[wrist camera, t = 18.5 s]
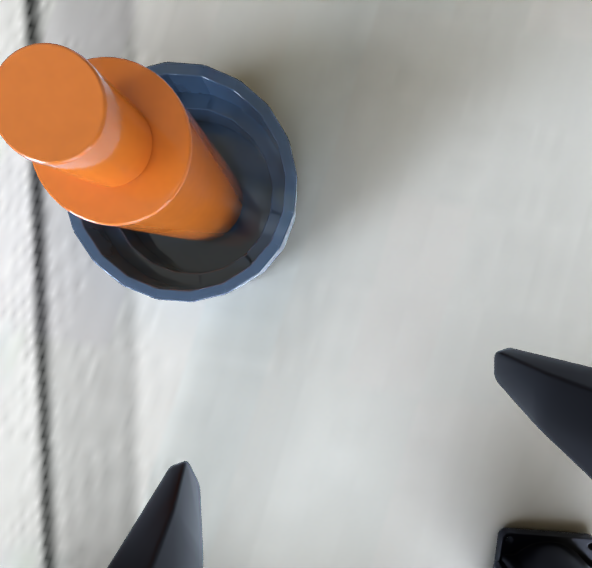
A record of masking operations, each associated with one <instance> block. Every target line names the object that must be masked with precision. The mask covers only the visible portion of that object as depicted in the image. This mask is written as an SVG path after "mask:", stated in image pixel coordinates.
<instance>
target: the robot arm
mask: <svg viewBox="0 0 592 568" xmlns="http://www.w3.org/2000/svg"><path fill="white" fill-rule="evenodd" d="M494 375H495V378H496V380H497V382H498V383H499V385H500V386H501V387H502V388H503V389H504V390H505V391H506V392H507V394H508V395H509V396H510V397H511V398H512V399H513V400H514V401H515V403H516V404H517V405H518V406H519V407H520V408H521V409H522V410H523V412H524V413H525V414H526V415H527V416H528V417H529V418H530V419H531V421H532V422H533V423H534V424H535V425H536V426H537V427H538V428H539V429H540V430H541V431H542V432H543V433H544V434H545V435H546V436H547V437H548V438H549V439H550V440H551V441H552V442H553V443H554V444H555V445H557V446H558V447H559V448H560V449H561V450H562V451H563V452H564V453H565V454H566V455H567V456H568V457H569V458H570V459H571V460H572V461H573V462H574V463H575V464H577V465H578V466H579V467H580V468H581V469H582V470H583V471H584V472H585V473H586V474H587V475H588V476H589V477H590V478H591V479H592V367H588V366H584V365H580V364H575V363H571V362H567V361H563V360H559V359H555V358H550V357H546V356H542V355H538V354H534V353H530V352H526V351H521V350H517V349H513V348H506V349H503V350H501V351H498V352H496V354H495V358H494ZM507 537H508V538H507ZM108 568H203V541H202V519H201V497H200V486H199V483H198V480H197V478H196V476H195V474H194V472H193V470H192V468H191V466H190V464H189V463H188V462H187V461H184V462H181V463H178V464H175V465H173V466H171V467H170V468H169V469H168V471H167V473H166V474H165V476H164V477H163V479H162V481H161V482H160V484H159V486H158V487H157V489H156V490H155V492H154V494H153V495H152V497H151V498H150V500H149V502H148V503H147V505H146V506H145V508H144V510H143V511H142V513H141V515H140V516H139V518H138V519H137V521H136V523H135V524H134V526H133V527H132V529H131V531H130V532H129V534H128V536H127V537H126V539H125V540H124V542H123V544H122V545H121V547H120V548H119V550H118V552H117V553H116V555H115V556H114V558H113V560H112V561H111V563H110V565H109V566H108ZM493 568H592V536H591V535H589V534H580V533H567V532H554V531H541V530H527V529H514V528H503V529H501V530H500V531H499V533H498V539H497V547H496V554H495V561H494V566H493Z"/></svg>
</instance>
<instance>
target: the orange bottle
mask: <svg viewBox="0 0 592 568" xmlns="http://www.w3.org/2000/svg"><path fill="white" fill-rule="evenodd" d="M0 135H1V136H2V137H3V139H4V140H5V141H6V143H7V144H8V145H9V146H10V147H11V148H12V149H13V150H15V151H16V152H17V153H18V154H20V155H21V156H23V157H25V158H26V159H28V160H31V161H32V162H33V166H34V168H35V171H36V173H37V175H38V178H39V179H40V181H41V183H42V184H43V186H44V188H45V189H46V190H47V191H48V193H49V194H50V195H51V196H52V197H53V198H54V199H55V200H56V201H57V202H58V203H59V204H60V205H61V206H62V207H63V208H65V209H66V210H67V211H69V212H70V213H72V214H74V215H75V216H77V217H79V218H81V219H84V220H86V221H89V222H92V223H96V224H101V225H106V226H112V227H118V228H124V229H129V230H135V231H141V232H146V233H152V234H158V235H164V236H169V237H175V238H181V239H187V240H192V241H210V240H214V239H217V238H219V237H221V236H223V235H224V234H226V233H227V232H228V231H229V230H230V229H231V228H232V227H233V226H234V225H235V223H236V222H237V220H238V218H239V216H240V213H241V210H242V204H243V195H242V189H241V185H240V183H239V180H238V178H237V177H236V175H235V174H234V172H233V171H232V169H231V168H230V167H229V165H228V164H227V163H226V161H225V160H224V159H223V157H222V156H221V154H220V153H219V152H218V150H217V149H216V148H215V146H214V145H213V144H212V142H211V141H210V139H209V138H208V137H207V135H206V134H205V133H204V131H203V130H202V129H201V127H200V126H199V124H198V123H197V122H196V120H195V119H194V118H193V116H192V115H191V114H190V112H189V111H188V109H187V108H186V107H185V105H184V104H183V103H182V101H181V100H180V99H179V97H178V96H177V95H176V93H175V92H174V90H173V89H172V88H171V87H170V86H169V85H168V84H167V83H166V81H165V80H163V79H162V78H161V77H160V76H159V75H157V74H156V73H155V72H153V71H151V70H150V69H148V68H147V67H145V66H143V65H140V64H138V63H136V62H133V61H129V60H126V59H122V58H116V57H98V58H91V59H85V58H84V57H83V56H82V55H80V54H79V53H77V52H75V51H74V50H72V49H69V48H67V47H64V46H61V45H58V44H52V43H37V44H32V45H28V46H25V47H23V48H20V49H19V50H17V51H15V52H14V53H12V54H11V55H10V56H9V57H8V58H7V59H6V60H5V61H4V62H3V63H2V64H1V66H0Z"/></svg>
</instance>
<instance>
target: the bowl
mask: <svg viewBox="0 0 592 568" xmlns="http://www.w3.org/2000/svg"><path fill="white" fill-rule="evenodd" d="M147 68H148V69H150V70H151V71H153V72H155V73H156V74H157V75H159V76H160V77H161V78H162V79H163V80H165V81H166V83H167V84H168V85H169V86H170V87H171V88H172V89H173V90H174V92H175V93H176V95H177V96H178V97H179V99H180V100H181V101H182V103H183V104H184V105H185V107H186V108H187V109H188V111H189V112H190V114H191V115H192V116H193V118H194V119H195V120H196V122H197V123H198V124H199V126H200V127H201V129H202V130H203V131H204V133H205V134H206V135H207V137H208V138H209V139H210V141H211V142H212V144H213V145H214V146H215V148H216V149H217V150H218V152H219V153H220V154H221V156H222V157H223V159H224V160H225V161H226V163H227V164H228V165H229V167H230V168H231V169H232V171H233V172H234V174H235V175H236V177H237V178H238V180H239V183H240V185H241V189H242V195H243V204H242V210H241V213H240V216H239V218H238V220H237V222H236V223H235V225H234V226H233V227H232V228H231V229H230V230H229V231H228V232H227V233H226V234H224V235H223V236H221V237H219V238H217V239H214V240H210V241H192V240H187V239H181V238H175V237H169V236H164V235H158V234H152V233H146V232H141V231H135V230H129V229H124V228H118V227H112V226H106V225H101V224H96V223H92V222H89V221H86V220H84V219H81V218H79V217H77V216H75V215H74V214H72V213H70V212H69V211H68V214H69V217H70V221H71V224H72V227H73V230H74V233H75V234H76V236H77V237H78V239H79V240H80V242H81V243H82V245H83V246H84V248H85V249H86V251H87V252H88V254H89V255H90V257H91V258H92V260H93V261H94V262H95V263H96V264H97V265H98V266H99V267H101V268H102V269H103V270H104V271H106V272H107V273H108V274H109V275H110V276H112V277H113V278H114V279H115V280H117V281H118V282H119V283H120V284H121V285H123V286H125V287H127V288H130V289H132V290H135V291H137V292H140V293H142V294H145V295H147V296H150V297H152V298H154V299H158V300H171V301H184V302H195V301H199V300H203V299H207V298H212V297H216V296H220V295H224V294H227V293H229V292H231V291H233V290H235V289H237V288H239V287H241V286H243V285H244V284H246V283H248V282H249V281H251V280H252V279H254V278H256V277H257V276H259V275H260V274H262V273H264V271H266V269H267V268H268V267H269V266H270V265H271V263H272V262H273V261H274V260H275V259H276V258H277V256H278V255H279V254H280V253H281V252H282V250H283V249H284V247H285V244H286V242H287V239H288V237H289V235H290V232H291V230H292V227H293V225H294V222H295V214H296V201H297V172H296V168H295V164H294V160H293V155H292V151H291V147H290V143H289V140H288V137H287V135H286V134H285V132H284V130H283V129H282V127H281V125H280V123H279V122H278V120H277V118H276V117H275V115H274V113H273V112H272V110H271V108H270V107H269V106H268V104H266V103H265V102H264V101H263V100H262V99H261V98H260V97H259V96H257V95H256V94H255V93H254V92H253V91H252V90H251V89H249V88H248V87H247V86H246V85H245V84H244V83H243V82H242V81H239V80H238V79H236V78H234V77H232V76H229V75H227V74H225V73H222V72H220V71H218V70H215V69H213V68H211V67H208V66H206V65H205V66H204V65H201V64H189V63H176V62H167V63H166V62H164V63H160V64H156V65H152V66H148V67H147Z"/></svg>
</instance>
